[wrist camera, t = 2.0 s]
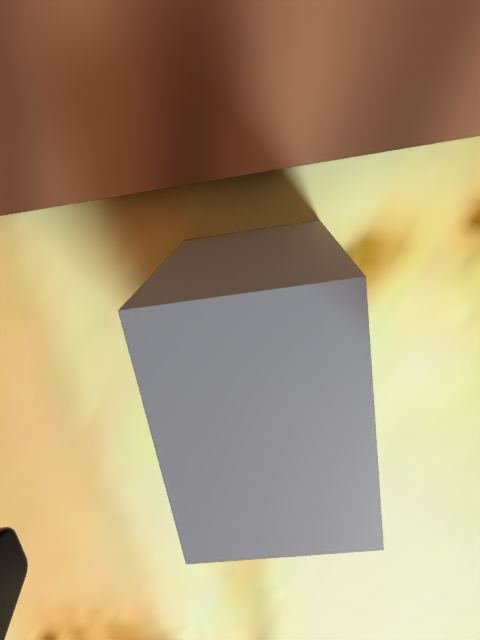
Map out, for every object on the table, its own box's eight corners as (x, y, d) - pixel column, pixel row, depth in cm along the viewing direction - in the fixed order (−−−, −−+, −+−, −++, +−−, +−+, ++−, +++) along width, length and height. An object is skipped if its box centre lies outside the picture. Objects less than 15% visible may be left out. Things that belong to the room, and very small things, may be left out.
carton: (217, 402, 19) (186, 564, 11) (185, 240, 17) (118, 310, 9) (340, 388, 18) (392, 549, 11) (324, 219, 16) (376, 275, 9)
